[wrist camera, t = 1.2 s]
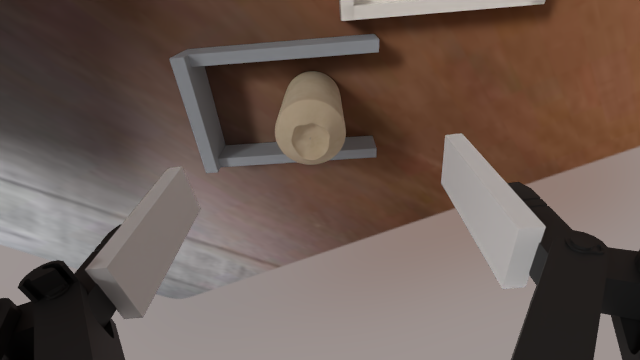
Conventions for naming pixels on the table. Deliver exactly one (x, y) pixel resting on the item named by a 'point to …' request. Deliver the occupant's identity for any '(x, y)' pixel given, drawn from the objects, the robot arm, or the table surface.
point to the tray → (418, 7)
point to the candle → (311, 119)
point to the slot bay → (193, 62)
